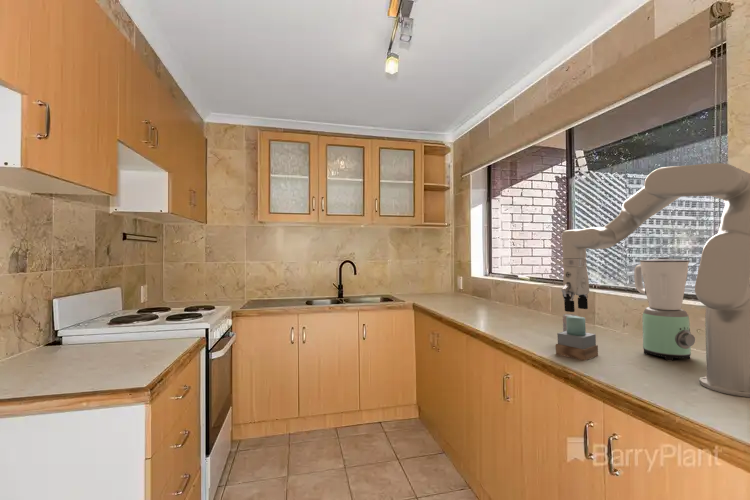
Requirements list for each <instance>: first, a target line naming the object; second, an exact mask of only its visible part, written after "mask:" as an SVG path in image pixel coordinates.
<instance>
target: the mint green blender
mask: <svg viewBox="0 0 750 500" xmlns="http://www.w3.org/2000/svg"><path fill="white" fill-rule="evenodd" d="M639 262H640V264H637V265H636V266H635V267H634V274H633V275H634V287H635V289H636V290H637V291H638V293H640V294H642V295H646V298H647V303H648V307H645V308H644V310H643V312H642V318H641V319H642V322H641V323H642V349H643V354H644V355H653V356H657V357H662V358H664V360H666V361H670V362H671V361H673V359H687V360H689V359H691V355H692V351H691V350H692V349H691V348H692V347H693V345H694V344H695V343H696V337H695V336H694V335H693V334H692V333H691V325H690V324H691V323H690V316H689V314H688V312H687V311H686V310H685V309H682V307H683V300H684V295H685V289H686V283H687V278H688V270H689V264H690V260H689V259H678V258H671V257H668V256H667V257H657V258H651V259H641V260H639ZM643 284H644V286H643Z"/></svg>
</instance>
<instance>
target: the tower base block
mask: <svg viewBox="0 0 750 500" xmlns="http://www.w3.org/2000/svg"><path fill="white" fill-rule="evenodd" d="M555 355H557V356H558V355H559V356H562V357H568V358H571V359H576V360H581V361H587V360H590V359H593V358H595V357H598V356H599V346H598V344H596V345H595V346H592V347H589V348H586V349H579V348H574V347H569V346H565V345H560V344H558V343H555Z"/></svg>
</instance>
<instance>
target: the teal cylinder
mask: <svg viewBox="0 0 750 500" xmlns="http://www.w3.org/2000/svg"><path fill="white" fill-rule="evenodd" d="M566 322H567V334H569V335H575V336H584V335H586V333H587V331H586V329H587V328H586V317H583V316H580V315H577V316H567V317H566Z"/></svg>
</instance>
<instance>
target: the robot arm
mask: <svg viewBox="0 0 750 500" xmlns="http://www.w3.org/2000/svg"><path fill="white" fill-rule="evenodd" d="M681 197H712V198H716V199H721V200H722V201H724V208H723V212H722V215H721V218H720V225H719V229H718V232H717V234H715V235H713V236H711V237H710V238H709V239H708V240H707V241H706V242H705V245H704V247H703V249H702V252H701V256H700V261H699V265H698V270H697V274H696V278H695V285H694V293H695V297H696V298H697V300H698V301H699V302H700V303H702V305H704V306H705V314H704V315H705V316H704V318H705V319H704V321H705V324H704V325H705V327H704V328H705V330H704V331H705V359H706V361H705V363H706V375H705V376H701V377H699V384H700V385H701V386H703V387H705V388H706V389H709V390H711V391H715V392H719V393H722V394H727V395H730V396H738V397H742V398H743V397H745V398H750V172H748V171H745V170H744V169H743V170H742V169H740V168H739V167H736V166H734V165H732V164H729V163H724V162H722V163H721V162H715V163H713V162H711V163H701V164H690V165H689V164H687V165H677V166H675V165H674V166H663V167H659V168H656V169H655V170H653V171H651V172H650V173H649V174H648V175H647V176H646V178H645V180H644V184H643V187H642V188H640V189H639V190H638V191H636V192H635V193H634V194H632V195H631V196H629V197H628V198H627V199H625V200H624V201H623V203H622V205H621V211H620V213H619V214H618V215H617V216H616V217H615V218H614V219H612V220H611V221H610V222H608V223H607V224H605V225H604V226H603V227H587V228H582V229H581V228H580V229H568V230H563V231H562V233H561V246H562V247H561V248H562V249H561V250H562V268H563V274H562V275H563V277H562V281H563V282H562V285H563V286H562V288H561V292H562V297H563V301H564V312H567V313H569V312H570V313H575V310H576V309H575V300H574V298H575V295H576V296H578V297H577V308H578V309H581V310H588V308H589V306H588V305H589V303H588V298H589V296H588V294H589V293H590V280H589V273H588V268H587V266H588V265H587V250H588V249H589V250H599V249H600V250H604V249H609V248H612V247H614V246H615V245H617V244H618V243H620V242H621V241H623V240H625V239H626V238H628V237H629V236H630V235H632V233H634V232H635V231H637V229H638V228H639V227H641V226H642V225H643V224H644V222H646V221H648V219H650V218H651V217H653V216H655V214H657V213H658V212H661V211H662V210H663V209H665V208H666V207H668V206H669V205H671V204H672V203H674V202H675V201H677V200H678V199H679V198H681Z"/></svg>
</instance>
